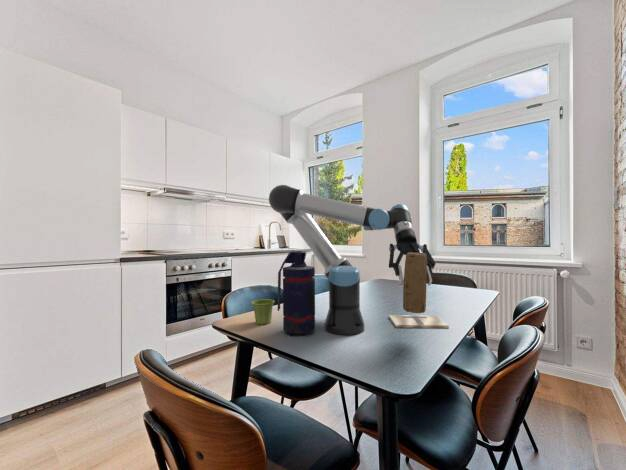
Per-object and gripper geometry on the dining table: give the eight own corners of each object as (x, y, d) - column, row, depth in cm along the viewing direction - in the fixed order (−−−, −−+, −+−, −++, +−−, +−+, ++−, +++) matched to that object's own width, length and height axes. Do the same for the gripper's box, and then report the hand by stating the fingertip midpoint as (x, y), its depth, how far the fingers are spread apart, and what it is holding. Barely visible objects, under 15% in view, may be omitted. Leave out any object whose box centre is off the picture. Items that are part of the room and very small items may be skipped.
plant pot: (247, 324, 123) (246, 303, 123) (259, 318, 131) (259, 298, 131) (267, 327, 119) (267, 305, 119) (278, 320, 128) (278, 300, 128)
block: (425, 315, 99) (427, 254, 99) (401, 312, 102) (403, 253, 101) (425, 307, 109) (427, 252, 109) (403, 305, 112) (405, 251, 111)
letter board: (396, 327, 117) (396, 324, 117) (388, 317, 131) (388, 314, 131) (448, 328, 116) (448, 325, 116) (436, 317, 130) (436, 315, 130)
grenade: (315, 326, 119) (315, 250, 119) (314, 337, 107) (314, 252, 107) (280, 326, 120) (279, 250, 119) (275, 337, 108) (275, 252, 107)
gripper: (378, 228, 117) (385, 275, 101) (435, 228, 116) (451, 277, 100) (376, 241, 122) (382, 288, 107) (430, 242, 121) (445, 289, 106)
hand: (416, 282), depth 103 cm, fingers closed on block, 9 cm apart
